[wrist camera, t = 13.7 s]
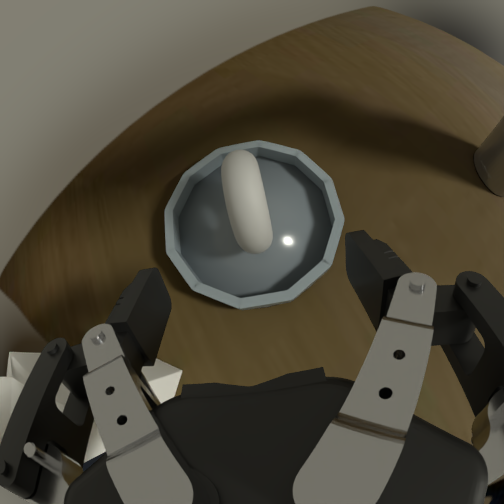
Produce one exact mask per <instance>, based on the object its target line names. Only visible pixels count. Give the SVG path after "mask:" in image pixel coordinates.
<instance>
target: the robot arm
mask: <svg viewBox="0 0 504 504" xmlns="http://www.w3.org/2000/svg"><path fill="white" fill-rule="evenodd" d="M474 163H475V167H476V170H477V172H478V174H479V176H480V178H481V179H482V181H483V182H484V184H485V185H486V186H487V187H488V188H489V189H490V190H491V191H492V192H493V193H495V194H496V195H498V196H502V197H503V196H504V116H503V118H502V119H501V120H500V122H499V123H498V124H497V126H496V127H495V128H494V129H493V131H492V132H491V133H490V135H489V136H488V137H487V138H486V139H485V141H484V142H483V143H482V144H481V146H480V147H479V148H478V149H477V150H476V152H475V154H474ZM345 246H346V271H347V275H348V279H349V281H350V283H351V284H352V286H353V288H354V290H355V292H356V293H357V295H358V297H359V299H360V301H361V303H362V305H363V306H364V308H365V310H366V312H367V314H368V316H369V318H370V320H371V322H372V324H373V326H374V328H375V330H376V332H377V333H376V336H375V338H374V341H373V343H372V345H371V348H370V350H369V352H368V355H367V357H366V359H365V361H364V364H363V366H362V368H361V370H360V372H359V375H358V377H357V379H356V381H352V380H348V379H344V378H338V377H325V373H324V369H323V367H320V368H316V369H311V370H306V371H300V372H295V373H289V374H286V375H283V376H280V377H278V378H275V379H272V380H269V381H267V382H264V383H261V384H258V385H255V386H250V387H247V386H237V385H228V384H221V383H205V384H187V385H183V387H182V393H181V395H179V396H176V397H173V398H171V399H169V400H167V401H164V402H163V403H160V401H159V400H158V398H157V396H156V395H155V393H154V391H153V390H152V388H151V386H150V384H149V383H148V381H147V379H146V377H145V376H144V374H143V373H142V371H141V370H142V367H143V366H154V364H155V361H156V357H157V354H158V350H159V347H160V344H161V340H162V337H163V334H164V331H165V327H166V324H167V321H168V318H169V315H170V312H171V299H170V296H169V294H168V291H167V289H166V287H165V284H164V282H163V279H162V277H161V274H160V272H159V270H158V269H157V268H150V269H144V270H140V271H139V272H138V274H137V275H136V277H135V279H134V281H133V282H132V283H131V284H130V285H129V286H128V287H127V288H125V289H124V291H123V292H122V294H121V296H120V297H119V298H120V299H118V301H117V303H116V305H115V306H114V308H113V310H112V312H111V313H110V315H109V317H108V319H107V321H106V323H105V324H100V325H97V326H95V327H93V328H92V329H90V330H89V331H88V332H87V333H86V334H85V336H84V337H83V340H82V343H81V344H78V345H75V346H72V347H70V346H69V344H68V343H67V341H66V340H65V339H64V338H56V339H54V340H52V341H51V342H49V343H48V344H47V345H46V346H45V347H44V349H43V351H42V352H41V354H40V356H39V358H38V360H37V361H36V363H35V365H34V367H33V369H32V371H31V373H30V375H29V377H28V379H27V381H26V383H25V385H24V387H23V389H22V391H21V394H20V396H19V398H18V400H17V402H16V405H15V407H14V409H13V412H12V414H11V417H10V419H9V422H8V424H7V427H6V429H5V432H4V435H3V438H2V441H1V443H0V485H1V486H2V487H4V488H5V489H7V490H9V491H10V492H12V493H14V494H16V495H18V496H19V497H20V498H22V499H23V500H25V501H27V502H29V503H31V504H484V499H485V495H486V490H487V485H488V484H490V483H491V482H493V481H494V480H496V479H497V478H499V477H500V476H502V475H503V474H504V297H503V296H502V295H501V294H500V293H499V292H498V291H497V290H496V288H495V287H494V286H493V285H492V284H491V283H490V282H489V281H488V280H487V279H486V278H485V277H484V276H482V275H481V274H479V273H476V272H472V271H465V272H462V273H460V274H459V275H458V276H457V278H456V282H455V285H441V286H438V285H436V283H435V281H434V280H433V279H432V278H431V277H429V276H428V275H425V274H422V273H413V272H412V271H411V270H410V269H409V268H408V267H407V266H406V264H405V263H404V262H403V261H402V260H401V259H400V258H399V257H398V256H397V255H396V253H395V252H393V250H392V249H391V248H390V247H389V246H388V245H387V244H386V243H384V242H382V241H380V240H377V239H376V240H373V239H372V238H371V237H370V236H369V235H368V234H367V233H366V232H365V231H364V230H360V231H355V232H349V233H346V236H345ZM475 328H477V329H478V331H479V332H480V334H481V335H482V337H483V339H484V342H485V348H484V347H483V345H482V344H481V342H480V341H479V339H478V337H477V336H476V334H475V333H474V331H475ZM434 345H441V347H442V349H443V351H444V352H445V354H446V356H447V358H448V360H449V362H450V364H451V366H452V368H453V370H454V372H455V374H456V376H457V378H458V380H459V382H460V384H461V386H462V388H463V390H464V392H465V394H466V397H467V399H468V401H469V403H470V406H471V408H472V410H473V413H474V415H475V419H474V422H473V425H472V438H471V442H472V444H473V446H472V445H471V444H469V443H467V442H465V441H463V440H461V439H459V438H457V437H455V436H453V435H451V434H449V433H448V432H446V431H444V430H442V429H440V428H438V427H436V426H434V425H432V424H430V423H429V422H427V421H425V420H423V419H421V418H419V417H418V416H416V415H414V414H413V413H414V410H415V407H416V404H417V400H418V397H419V394H420V390H421V386H422V383H423V379H424V375H425V371H426V366H427V362H428V357H429V353H430V347H431V346H434ZM61 383H63V385H64V386H65V387H66V388H67V389H68V390H69V391H70V394H69V396H68V399H67V402H66V405H65V407H64V410H63V413H62V412H61V411H60V410H59V409H58V408H57V405H56V402H55V398H56V395H57V392H58V390H59V387H60V385H61ZM94 419H95V422H96V425H97V428H98V431H99V434H100V437H101V439H102V442H103V445H104V447H105V450H106V453H105V454H104V455H103V456H101V457H100V458H99V459H98V460H97V461H96V462H95V463H93V464H92V465H91V466H90V467H89V468H88V469H87V470H86V471H84V472H83V470H82V468H83V463H84V459H85V454H86V450H87V446H88V441H89V437H90V433H91V430H92V426H93V422H94Z"/></svg>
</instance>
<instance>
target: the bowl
mask: <svg viewBox="0 0 504 504" xmlns="http://www.w3.org/2000/svg"><path fill="white" fill-rule="evenodd" d="M235 150H246V151H248V152H250V153H251V154H253V156H254V157H255V158H256V160H257V163H258V166H259V170H260V174H261V178H262V182H263V187H264V191H265V196H266V201H267V205H268V210H269V215H270V220H271V226H272V232H273V240H272V243H271V245H270V247H269V248H268V249H267V250H266V251H264V252H262V253H260V254H251V253H247V252H246V251H244V250H243V249H242V248H241V247H240V246H239V244H238V243H237V241H236V238H235V236H234V233H233V230H232V227H231V224H230V220H229V216H228V212H227V208H226V203H225V198H224V193H223V186H222V178H221V166H222V163H223V160H224V159H225V157H226V156H227V155H228V154H229V153H230V152H232V151H235ZM343 224H344V216H343V213H342V209H341V206H340V203H339V200H338V196H337V193H336V190H335V187H334V184H333V181H332V179H331V177H330V176H328V175H327V174H326V173H325V172H324V171H323V170H322V169H321V168H320V167H319V166H317V165H316V164H315V163H314V162H313V161H312V160H311V159H310V158H308V157H307V156H306V155H305V154H304V153H303V152H301V151H300V150H297V149H293V148H289V147H286V146H282V145H278V144H274V143H269V142H265V141H261V140H260V141H259V140H257V141H252V142H246V143H241V144H236V145H231V146H226V147H222V148H218V149H216V150H215V151H213V152H212V153H210V154H209V155H208V156H206V157H205V158H203V159H202V160H201V161H199V162H198V163H197V164H195V165H194V166H193V167H191V168H190V169H188V170H187V171H186V172H185V174H183V175H182V177H181V179H180V181H179V183H178V185H177V187H176V189H175V190H174V192H173V194H172V196H171V198H170V200H169V202H168V204H167V206H166V208H165V239H166V253H167V255H168V256H169V258H170V259H171V260H172V262H173V263H174V265H175V266H176V268H177V269H178V271H179V272H180V273H181V275H182V276H183V278H184V279H185V280H186V282H187V283H188V285H189V286H190V287H191V289H192V290H193V291H195V292H198V293H200V294H202V295H205V296H207V297H210V298H212V299H215V300H217V301H220V302H222V303H224V304H227V305H230V306H232V307H235V308H237V309H240V310H248V309H254V308H255V309H256V308H266V307H271V306H275V305H279V304H283V303H289V302H291V301H293V300H294V299H296V298H297V297H298V296H299V295H300V294H301V293H303V292H304V291H305V290H307V289H308V288H309V287H310V286H311V285H312V284H313V283H314V282H315V281H316V280H318V279H319V278H320V277H321V276H322V275H323V274H324V273H325V272H327V271H328V270H329V268H330V267H331V265H332V262H333V259H334V256H335V252H336V249H337V246H338V242H339V239H340V235H341V231H342V228H343Z"/></svg>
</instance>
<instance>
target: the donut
mask: <svg viewBox="0 0 504 504" xmlns="http://www.w3.org/2000/svg"><path fill="white" fill-rule="evenodd" d="M221 178H222V186H223V193H224V198H225V203H226V208H227V212H228V216H229V220H230V224H231V227H232V230H233V233H234V236H235V238H236V241H237V243H238V244H239V246H240V247H241V248H242V249H243V250H244V251H246V252H247V253H251V254H260V253H262V252H264V251H266V250H267V249H268V248H269V247H270V245H271V243H272V240H273V232H272V226H271V220H270V215H269V210H268V205H267V201H266V196H265V191H264V187H263V182H262V178H261V174H260V170H259V166H258V163H257V160H256V158H255V157H254V156H253V154H251V153H250V152H248V151H246V150H235V151H232V152H230V153H229V154H228V155H227V156H226V157H225V159H224V160H223V163H222V166H221Z"/></svg>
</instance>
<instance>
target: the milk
mask: <svg viewBox="0 0 504 504" xmlns="http://www.w3.org/2000/svg"><path fill="white" fill-rule="evenodd" d="M40 354H41V353H27V352H26V353H25V352H9V358H8V368H7V377H0V443H1V441H2V438H3V435H4V432H5V429H6V427H7V424H8V422H9V419H10V417H11V414H12V412H13V409H14V407H15V405H16V402H17V400H18V398H19V396H20V394H21V391H22V389H23V387H24V385H25V383H26V381H27V379H28V377H29V375H30V373H31V371H32V369H33V367H34V365H35V363H36V361H37V360H38V358H39V356H40ZM141 371H142V373H143V374H144V376H145V377H146V379H147V381H148V383H149V384H150V386H151V388H152V390H153V391H154V393H155V395H156V396H157V398H158V400H159V401H160V403H163V402H164V401H167V400H169V399H171V398H173V397H174V396H175V392H176V389H177V386H178V383H179V380H180V377H181V374H182V370H180V369H178V368H176V367H174V366H172V365H169V364H167V363H165V362H163V361H161V360H159V359H157V358H156V361H155V364H154V366H143V367H142V370H141ZM69 394H70V391H69V390H68V389H67V388H66V387H65V386H64V385H63V383H61V385H60V387H59V390H58V392H57V395H56V398H55V402H56V405H57V408H58V409H59V410H60V411H61V412H62V413H63V410H64V407H65V405H66V402H67V399H68V396H69ZM105 451H106V450H105V447H104V445H103V442H102V439H101V437H100V434H99V431H98V428H97V425H96V422H95V419H94V422H93V426H92V430H91V433H90V437H89V441H88V446H87V450H86V454H85V459H84V462H86V461H88V460H90V459H92V458H94V457H96V456H98V455H99V454H101V453H103V452H105Z"/></svg>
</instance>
